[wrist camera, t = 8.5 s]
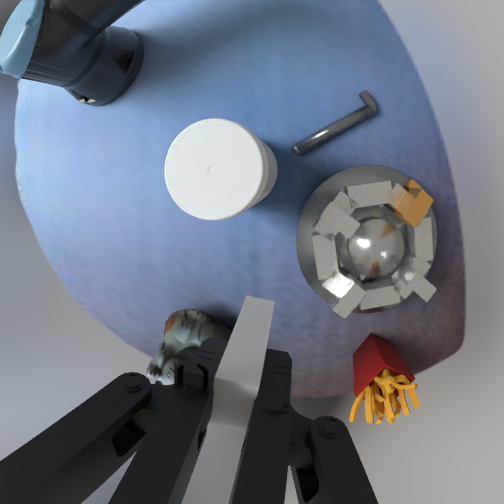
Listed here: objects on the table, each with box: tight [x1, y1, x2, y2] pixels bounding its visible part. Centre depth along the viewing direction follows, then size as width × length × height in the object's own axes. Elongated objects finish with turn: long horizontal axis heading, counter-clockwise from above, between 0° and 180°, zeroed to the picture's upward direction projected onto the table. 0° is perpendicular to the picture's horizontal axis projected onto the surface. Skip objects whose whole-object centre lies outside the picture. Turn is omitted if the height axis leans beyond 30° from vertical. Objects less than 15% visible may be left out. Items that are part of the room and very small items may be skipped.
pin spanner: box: [292, 90, 377, 155], centre depth 33 cm, size 14×3×2 cm, turn 122°
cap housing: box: [296, 165, 437, 313], centre depth 34 cm, size 20×20×6 cm
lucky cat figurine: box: [146, 309, 233, 385], centre depth 40 cm, size 15×12×14 cm
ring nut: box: [311, 180, 437, 318], centre depth 31 cm, size 16×16×6 cm
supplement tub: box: [165, 118, 278, 220], centre depth 30 cm, size 10×10×15 cm
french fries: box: [350, 333, 420, 424], centre depth 34 cm, size 9×8×15 cm
